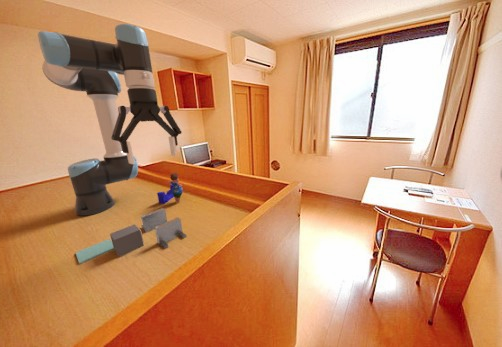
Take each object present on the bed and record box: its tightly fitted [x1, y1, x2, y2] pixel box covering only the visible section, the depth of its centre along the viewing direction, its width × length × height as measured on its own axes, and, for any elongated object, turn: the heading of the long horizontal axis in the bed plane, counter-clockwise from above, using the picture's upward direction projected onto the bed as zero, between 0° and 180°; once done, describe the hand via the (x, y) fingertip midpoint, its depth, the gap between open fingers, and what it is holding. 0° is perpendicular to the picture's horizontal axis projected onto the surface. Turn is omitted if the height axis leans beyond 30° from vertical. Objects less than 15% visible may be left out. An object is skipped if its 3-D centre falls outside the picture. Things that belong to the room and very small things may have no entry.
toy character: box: [166, 172, 184, 204], centre depth 92 cm, size 12×5×15 cm, turn 53°
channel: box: [140, 207, 188, 249], centre depth 70 cm, size 19×8×6 cm, turn 48°
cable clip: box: [156, 184, 174, 205], centre depth 99 cm, size 12×4×6 cm, turn 169°
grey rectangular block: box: [109, 224, 145, 258], centre depth 62 cm, size 5×7×6 cm
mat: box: [75, 238, 115, 265], centre depth 62 cm, size 7×9×1 cm
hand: (154, 159), depth 64 cm, fingers open, 13 cm apart
